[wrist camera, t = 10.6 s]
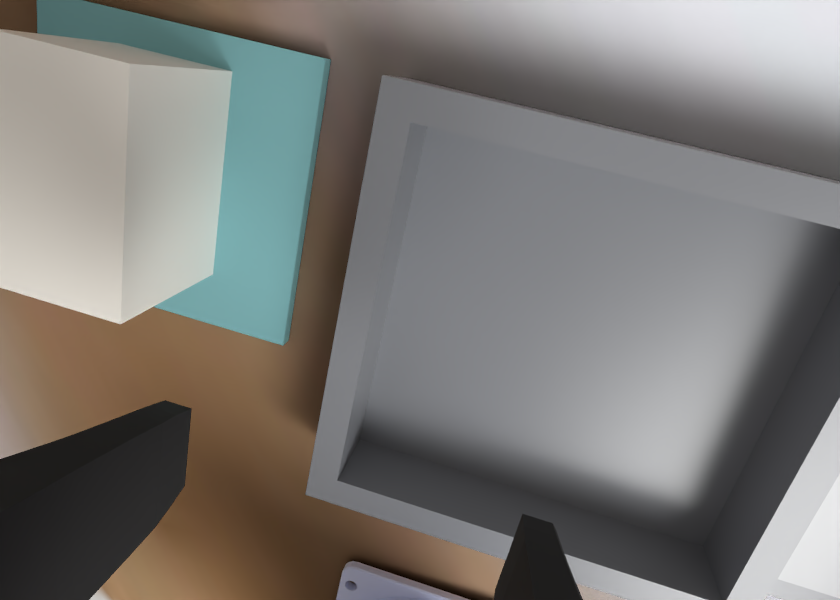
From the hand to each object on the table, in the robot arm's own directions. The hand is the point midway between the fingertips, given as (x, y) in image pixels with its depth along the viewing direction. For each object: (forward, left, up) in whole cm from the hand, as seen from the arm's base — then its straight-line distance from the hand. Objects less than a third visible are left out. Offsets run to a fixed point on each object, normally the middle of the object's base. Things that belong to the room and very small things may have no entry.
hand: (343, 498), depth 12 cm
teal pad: (+3, +10, -9) cm, 14 cm away
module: (+4, +10, -9) cm, 14 cm away
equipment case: (+1, -13, -9) cm, 16 cm away
